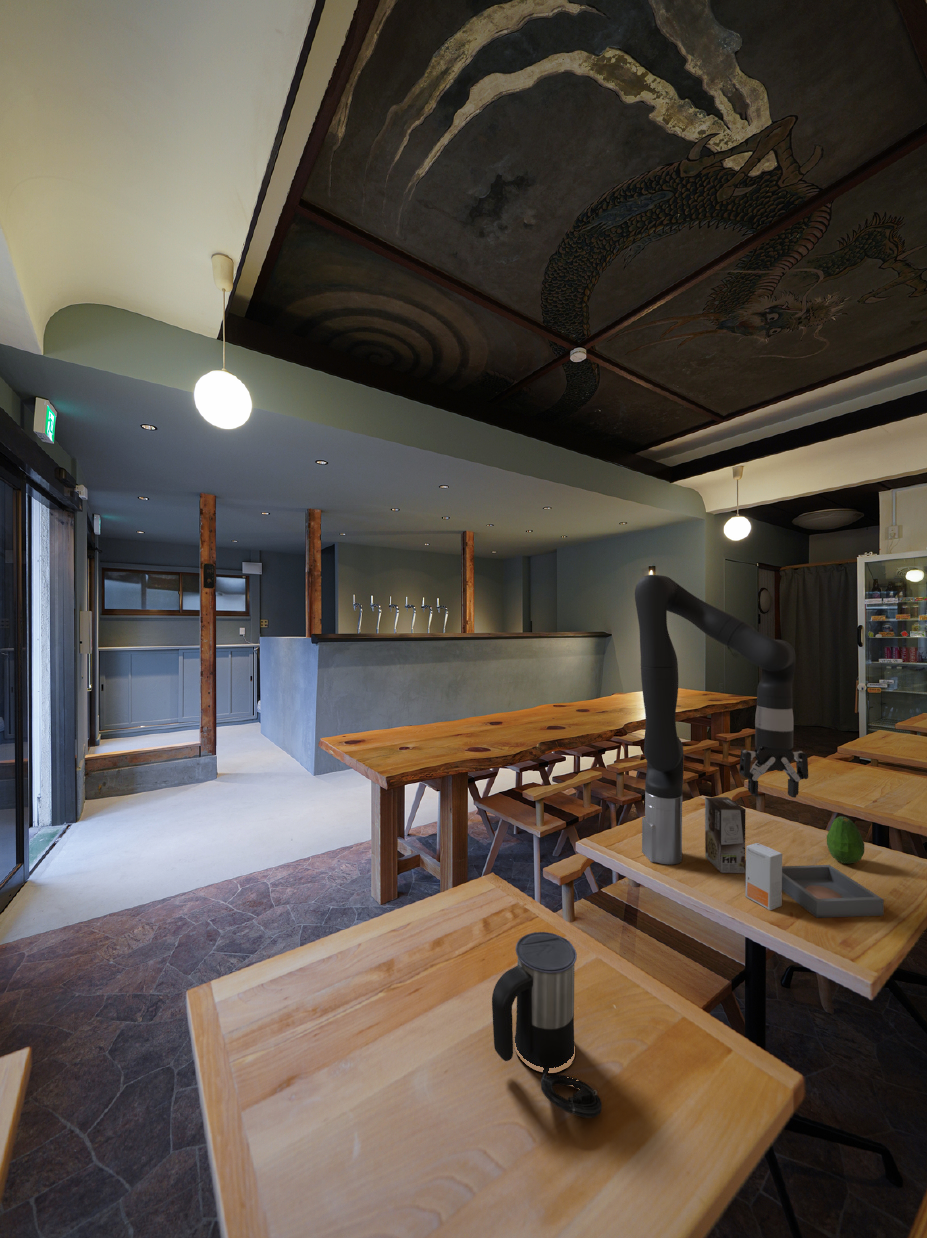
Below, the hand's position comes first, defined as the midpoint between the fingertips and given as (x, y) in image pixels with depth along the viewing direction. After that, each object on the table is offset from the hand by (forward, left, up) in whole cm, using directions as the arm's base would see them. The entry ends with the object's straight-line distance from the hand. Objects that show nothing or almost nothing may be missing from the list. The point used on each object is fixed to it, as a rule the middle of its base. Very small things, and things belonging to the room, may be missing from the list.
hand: (773, 796), depth 118 cm
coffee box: (-3, +14, -23) cm, 27 cm away
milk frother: (-61, -42, -23) cm, 78 cm away
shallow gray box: (+11, -2, -23) cm, 25 cm away
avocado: (+29, +13, -23) cm, 39 cm away
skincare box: (-4, -3, -23) cm, 24 cm away
